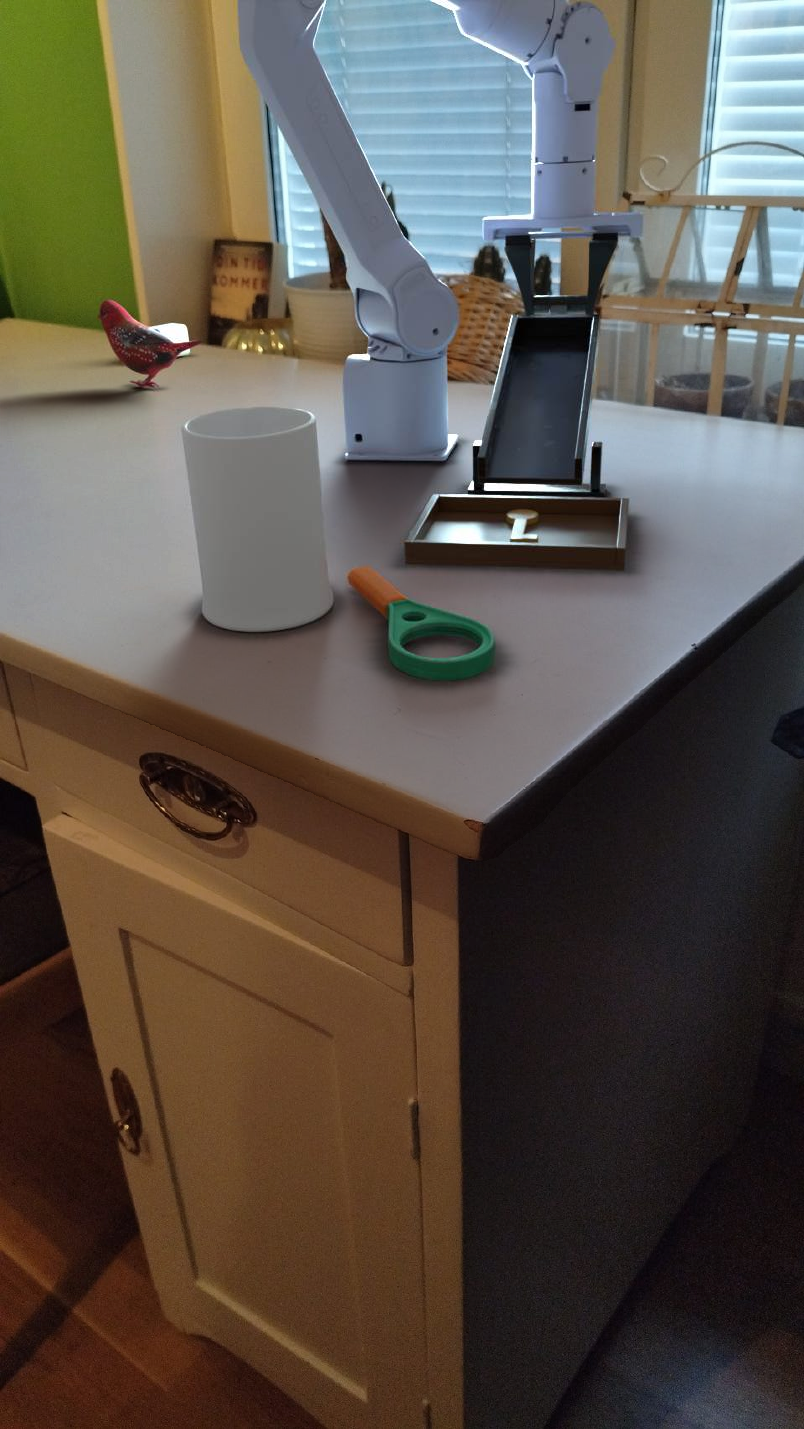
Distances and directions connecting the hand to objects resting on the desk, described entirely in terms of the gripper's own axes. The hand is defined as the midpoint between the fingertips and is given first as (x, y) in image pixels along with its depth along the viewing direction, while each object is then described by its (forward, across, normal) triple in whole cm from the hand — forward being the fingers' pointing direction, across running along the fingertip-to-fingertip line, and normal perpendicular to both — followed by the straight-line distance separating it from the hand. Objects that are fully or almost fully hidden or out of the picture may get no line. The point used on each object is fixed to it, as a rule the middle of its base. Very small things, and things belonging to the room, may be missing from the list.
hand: (560, 320), depth 105 cm
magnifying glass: (+10, +5, +51) cm, 52 cm away
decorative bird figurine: (+10, +50, -17) cm, 54 cm away
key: (+10, 0, +33) cm, 34 cm away
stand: (+10, 0, +22) cm, 24 cm away
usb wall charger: (+8, +57, -36) cm, 68 cm away
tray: (+10, 0, +34) cm, 35 cm away
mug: (+10, +16, +47) cm, 51 cm away
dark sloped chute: (+4, 0, +13) cm, 14 cm away
